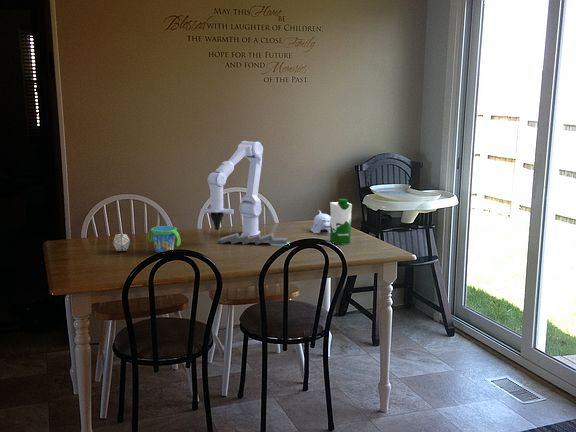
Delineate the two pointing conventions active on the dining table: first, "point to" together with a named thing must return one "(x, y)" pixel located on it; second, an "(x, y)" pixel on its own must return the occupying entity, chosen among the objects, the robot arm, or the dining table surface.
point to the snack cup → (164, 238)
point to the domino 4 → (264, 238)
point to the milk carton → (340, 221)
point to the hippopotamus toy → (321, 222)
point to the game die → (121, 242)
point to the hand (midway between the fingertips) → (217, 229)
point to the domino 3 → (252, 239)
